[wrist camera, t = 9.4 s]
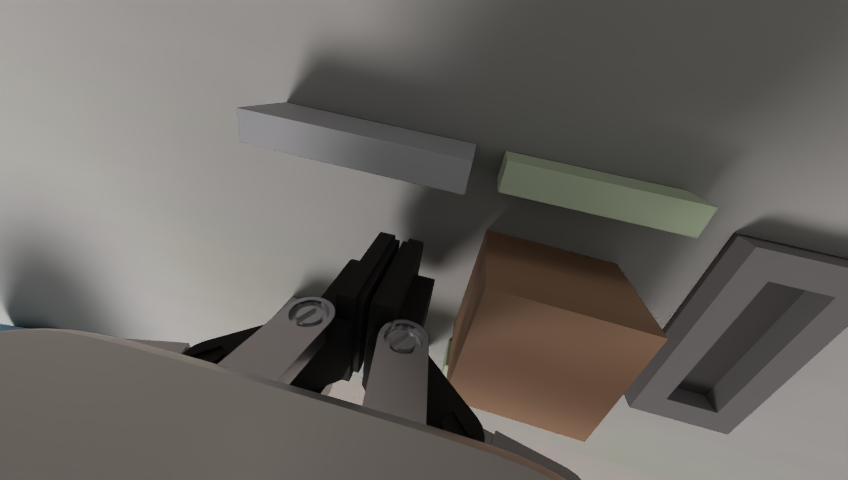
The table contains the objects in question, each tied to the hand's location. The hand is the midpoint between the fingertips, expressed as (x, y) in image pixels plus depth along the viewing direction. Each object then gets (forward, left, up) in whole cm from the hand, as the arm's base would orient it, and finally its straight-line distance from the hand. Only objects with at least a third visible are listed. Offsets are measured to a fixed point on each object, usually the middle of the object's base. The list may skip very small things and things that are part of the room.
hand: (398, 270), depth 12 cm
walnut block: (+1, +5, -2) cm, 6 cm away
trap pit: (0, +13, -1) cm, 13 cm away
